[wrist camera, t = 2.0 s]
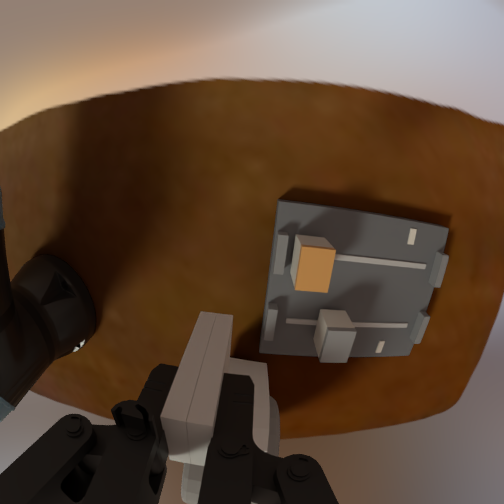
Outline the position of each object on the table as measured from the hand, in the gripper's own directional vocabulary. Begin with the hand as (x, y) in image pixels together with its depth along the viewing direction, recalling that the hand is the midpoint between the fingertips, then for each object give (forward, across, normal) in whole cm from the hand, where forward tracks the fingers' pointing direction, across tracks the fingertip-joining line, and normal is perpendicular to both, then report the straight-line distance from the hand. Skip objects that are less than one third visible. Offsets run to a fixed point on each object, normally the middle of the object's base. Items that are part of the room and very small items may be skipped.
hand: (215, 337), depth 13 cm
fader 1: (+16, +7, 0) cm, 17 cm away
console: (+18, +14, -4) cm, 23 cm away
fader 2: (+16, +11, -8) cm, 21 cm away
